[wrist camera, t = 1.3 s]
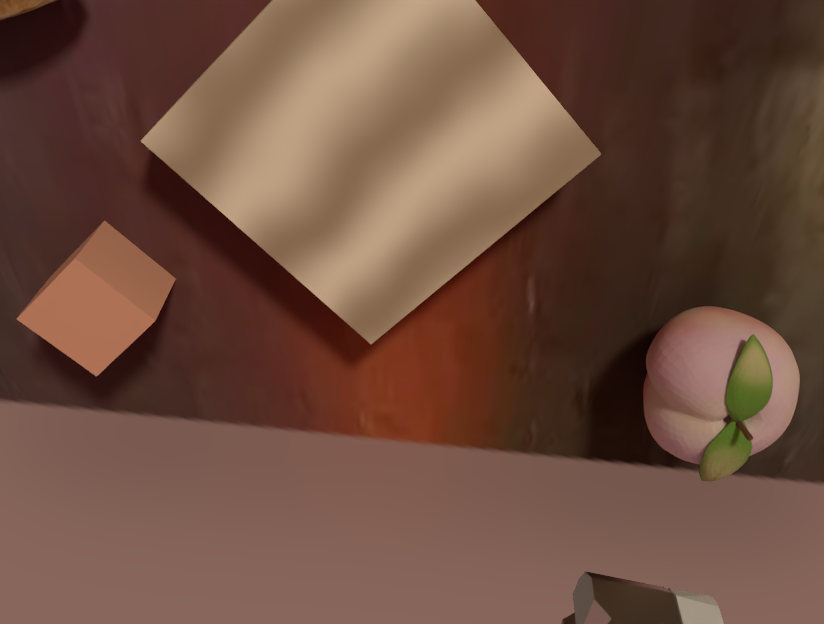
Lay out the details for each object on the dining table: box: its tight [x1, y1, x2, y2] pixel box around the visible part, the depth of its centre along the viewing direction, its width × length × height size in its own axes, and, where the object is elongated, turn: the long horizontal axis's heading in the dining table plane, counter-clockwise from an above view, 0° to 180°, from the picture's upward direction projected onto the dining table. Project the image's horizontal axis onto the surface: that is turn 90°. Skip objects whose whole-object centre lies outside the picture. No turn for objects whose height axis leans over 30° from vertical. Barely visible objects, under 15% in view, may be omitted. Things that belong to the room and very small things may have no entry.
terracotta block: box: [17, 221, 176, 377], centre depth 43 cm, size 5×5×5 cm
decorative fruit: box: [643, 306, 800, 481], centre depth 44 cm, size 9×8×10 cm
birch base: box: [141, 0, 601, 344], centre depth 40 cm, size 16×16×4 cm
